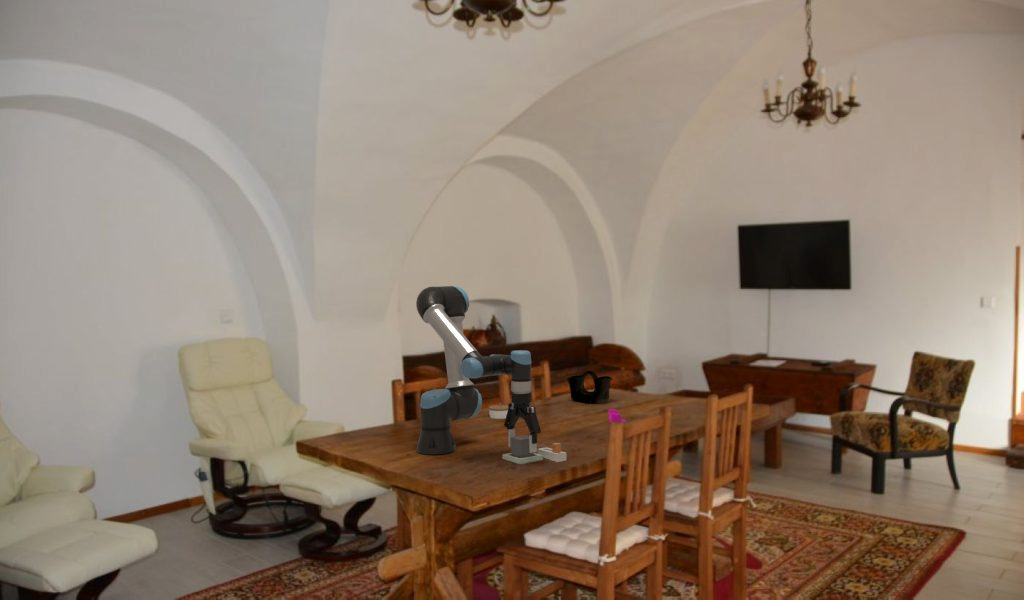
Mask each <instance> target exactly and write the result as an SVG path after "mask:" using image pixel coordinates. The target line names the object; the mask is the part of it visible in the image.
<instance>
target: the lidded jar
mask: <svg viewBox="0 0 1024 600" xmlns="http://www.w3.org/2000/svg"><path fill="white" fill-rule="evenodd" d="M508 405H509V404H507V405H506V404H502V403H501V402H499V403H498V404H495V405H494V404H493V405H490V406H489V407H488V411H489V413H488V414H489V418H491V419H496V420H505V419H506V416H507V412H508Z"/></svg>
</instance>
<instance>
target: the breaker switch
mask: <svg viewBox="0 0 1024 600" xmlns="http://www.w3.org/2000/svg"><path fill="white" fill-rule="evenodd" d="M551 449H552V452H555V453H558V452H561V451H562V444H561V443H560V442H554V443H551Z"/></svg>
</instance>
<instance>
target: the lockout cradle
mask: <svg viewBox="0 0 1024 600" xmlns="http://www.w3.org/2000/svg"><path fill="white" fill-rule="evenodd" d="M501 459H503V460H505V461H509V462H511V463H512V464H513V463H514V464H515V465H520V466H521V465H524V464H525V465H526V464H531V463H535V462H541V461H543V460H544V458H543V455H540V454H538V453H537V452H534V456H531V457H525V458H517V457H513V456H511V452H509V453H503V454H502V455H501Z"/></svg>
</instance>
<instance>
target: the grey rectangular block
mask: <svg viewBox="0 0 1024 600" xmlns="http://www.w3.org/2000/svg"><path fill="white" fill-rule="evenodd" d="M510 453H511V456H513V457H517V458H525V457H531V456H534V453H535V452H533V453H530V446H529V436H528V435H518V436H515V437H511V447H510Z"/></svg>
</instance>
